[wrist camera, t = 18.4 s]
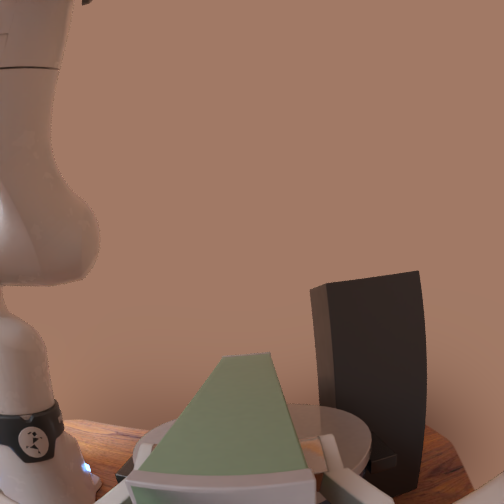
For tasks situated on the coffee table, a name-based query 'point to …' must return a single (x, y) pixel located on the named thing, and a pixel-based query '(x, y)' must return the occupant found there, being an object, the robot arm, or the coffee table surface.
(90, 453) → the coffee table surface
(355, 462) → the stock pot
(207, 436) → the green long square bar
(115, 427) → the coffee table surface
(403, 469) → the pedestal
